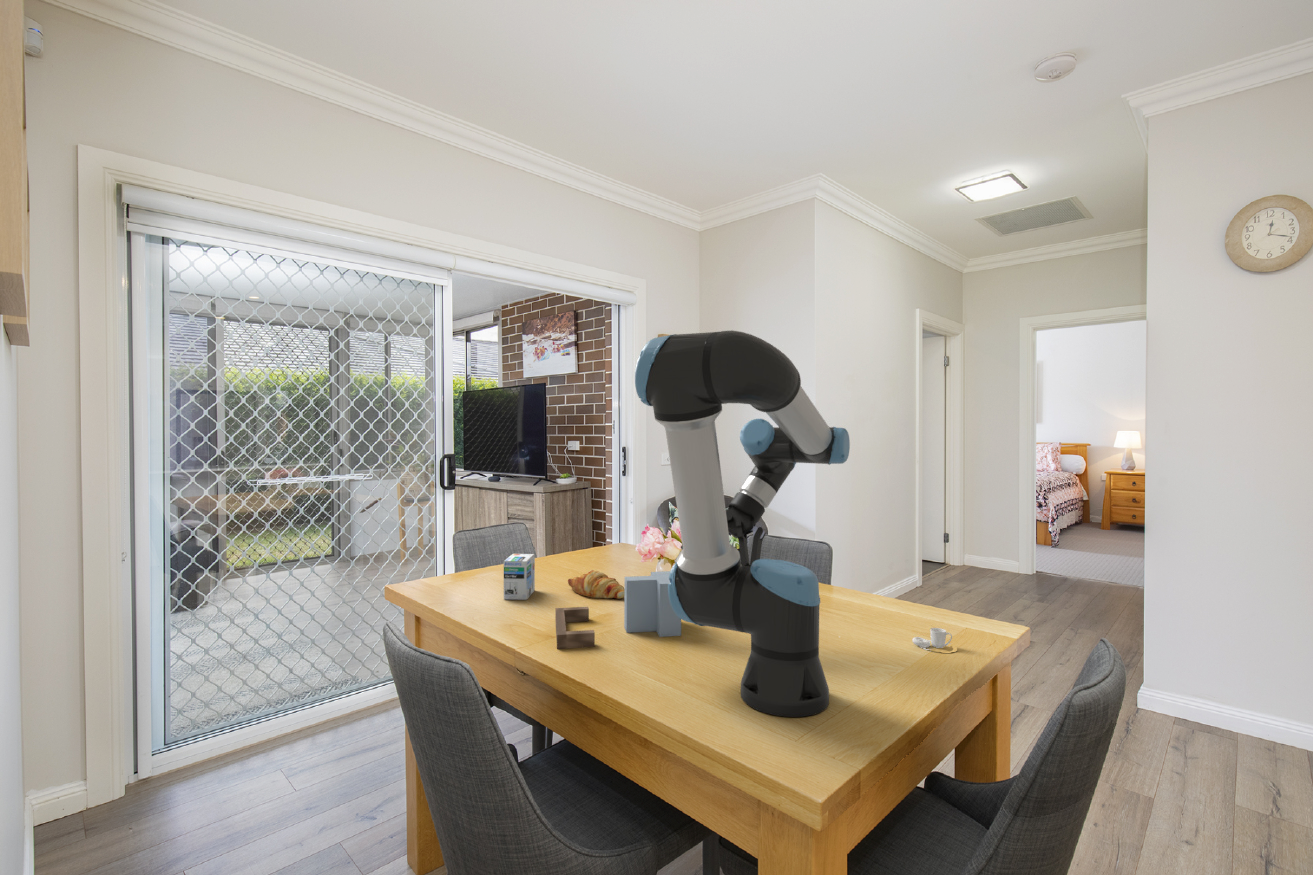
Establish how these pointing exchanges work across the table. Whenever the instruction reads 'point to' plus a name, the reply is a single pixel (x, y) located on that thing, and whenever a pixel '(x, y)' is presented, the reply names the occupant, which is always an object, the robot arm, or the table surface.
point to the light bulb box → (519, 576)
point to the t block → (650, 605)
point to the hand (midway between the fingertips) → (700, 578)
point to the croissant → (597, 586)
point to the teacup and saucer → (933, 639)
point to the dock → (573, 637)
